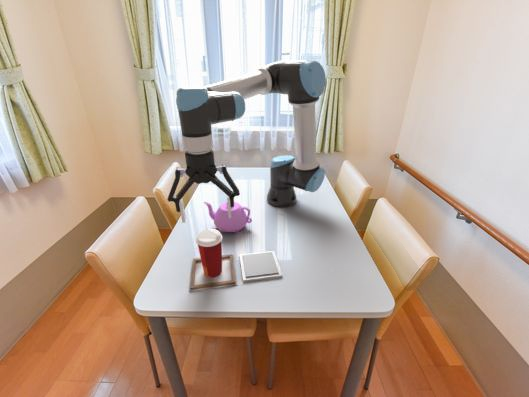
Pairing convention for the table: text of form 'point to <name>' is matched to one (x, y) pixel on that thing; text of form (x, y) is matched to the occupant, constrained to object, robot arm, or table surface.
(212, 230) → the coffee cup
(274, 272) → the ink pad
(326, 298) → the table surface
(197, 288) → the wooden picture frame
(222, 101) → the robot arm
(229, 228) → the teapot
